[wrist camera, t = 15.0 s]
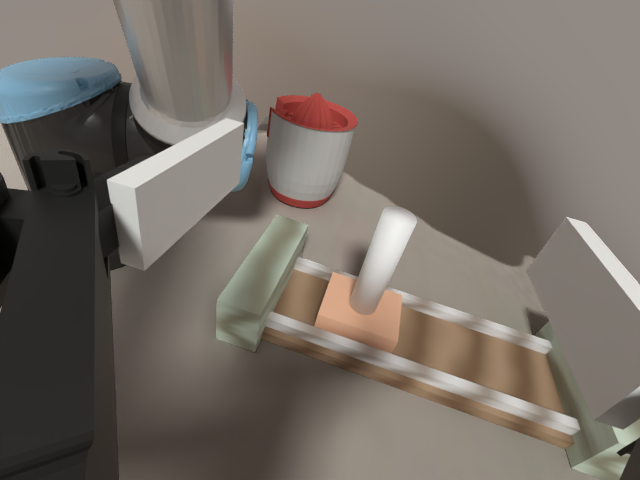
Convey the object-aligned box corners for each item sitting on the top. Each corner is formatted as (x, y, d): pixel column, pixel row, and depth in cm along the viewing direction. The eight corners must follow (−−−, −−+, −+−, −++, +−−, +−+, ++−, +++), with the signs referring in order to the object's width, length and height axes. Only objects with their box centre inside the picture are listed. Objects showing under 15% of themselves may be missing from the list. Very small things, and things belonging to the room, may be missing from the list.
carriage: (314, 326, 42) (345, 221, 32) (329, 283, 49) (359, 184, 38) (391, 353, 42) (448, 254, 31) (396, 306, 48) (445, 211, 38)
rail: (212, 337, 41) (212, 298, 36) (268, 248, 55) (273, 213, 50) (623, 487, 36) (678, 463, 32) (569, 349, 50) (602, 320, 46)
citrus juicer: (262, 166, 75) (272, 69, 63) (338, 183, 76) (363, 91, 64) (242, 203, 63) (250, 91, 51) (333, 223, 64) (362, 118, 51)
